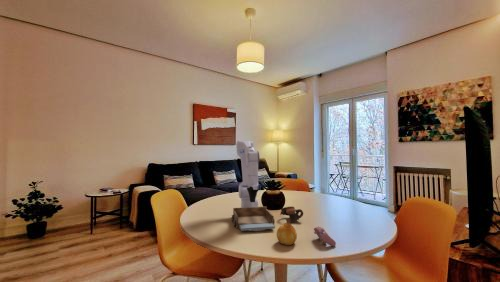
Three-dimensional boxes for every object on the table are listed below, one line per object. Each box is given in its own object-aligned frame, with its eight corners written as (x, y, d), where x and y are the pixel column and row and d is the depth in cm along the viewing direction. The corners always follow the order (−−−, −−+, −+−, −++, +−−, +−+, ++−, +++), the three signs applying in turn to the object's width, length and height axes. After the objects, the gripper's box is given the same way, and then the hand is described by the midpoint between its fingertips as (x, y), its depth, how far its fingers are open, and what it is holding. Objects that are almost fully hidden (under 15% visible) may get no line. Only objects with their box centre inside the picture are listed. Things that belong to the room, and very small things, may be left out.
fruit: (301, 242, 88) (296, 220, 92) (280, 244, 87) (276, 222, 91) (296, 245, 95) (292, 225, 99) (277, 248, 94) (274, 227, 98)
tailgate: (271, 222, 112) (274, 226, 106) (271, 226, 111) (274, 230, 106) (239, 224, 109) (241, 228, 103) (239, 228, 109) (241, 232, 103)
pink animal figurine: (317, 241, 99) (310, 226, 99) (326, 235, 99) (319, 221, 99) (327, 251, 89) (319, 235, 89) (337, 245, 90) (329, 229, 89)
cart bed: (267, 217, 126) (267, 206, 126) (275, 226, 112) (275, 213, 113) (231, 219, 123) (231, 208, 123) (234, 228, 109) (234, 215, 109)
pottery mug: (281, 224, 117) (277, 207, 121) (284, 227, 125) (281, 211, 129) (304, 219, 115) (300, 203, 119) (306, 222, 123) (302, 207, 127)
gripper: (242, 173, 125) (242, 199, 124) (247, 176, 111) (247, 205, 110) (255, 173, 126) (255, 199, 125) (261, 176, 112) (261, 204, 111)
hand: (252, 202), depth 118 cm, fingers closed
